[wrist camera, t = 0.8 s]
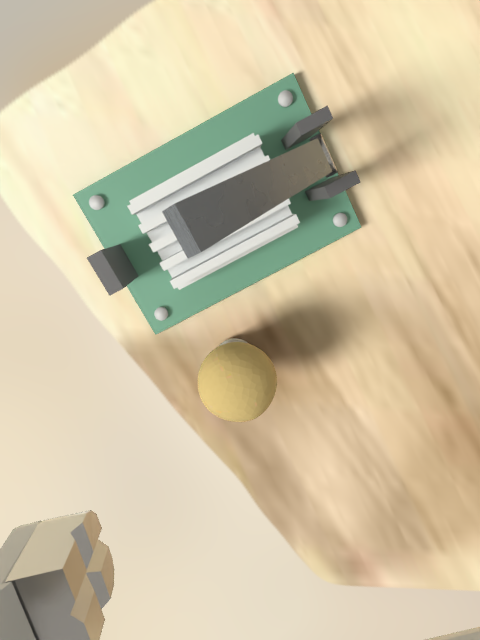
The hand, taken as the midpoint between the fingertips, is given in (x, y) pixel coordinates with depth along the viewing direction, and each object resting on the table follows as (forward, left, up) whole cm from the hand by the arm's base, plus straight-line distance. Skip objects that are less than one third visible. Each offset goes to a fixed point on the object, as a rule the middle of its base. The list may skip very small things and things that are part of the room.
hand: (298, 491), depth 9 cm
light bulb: (-1, +8, -33) cm, 34 cm away
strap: (0, -7, -20) cm, 22 cm away
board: (+2, -5, -33) cm, 34 cm away
